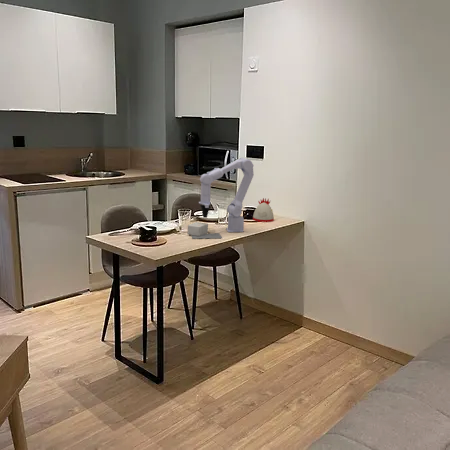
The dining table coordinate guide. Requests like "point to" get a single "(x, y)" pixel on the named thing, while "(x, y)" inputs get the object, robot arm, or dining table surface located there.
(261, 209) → the spiked white dome
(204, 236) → the mat
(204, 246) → the dining table surface
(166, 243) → the dining table surface
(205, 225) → the small box
